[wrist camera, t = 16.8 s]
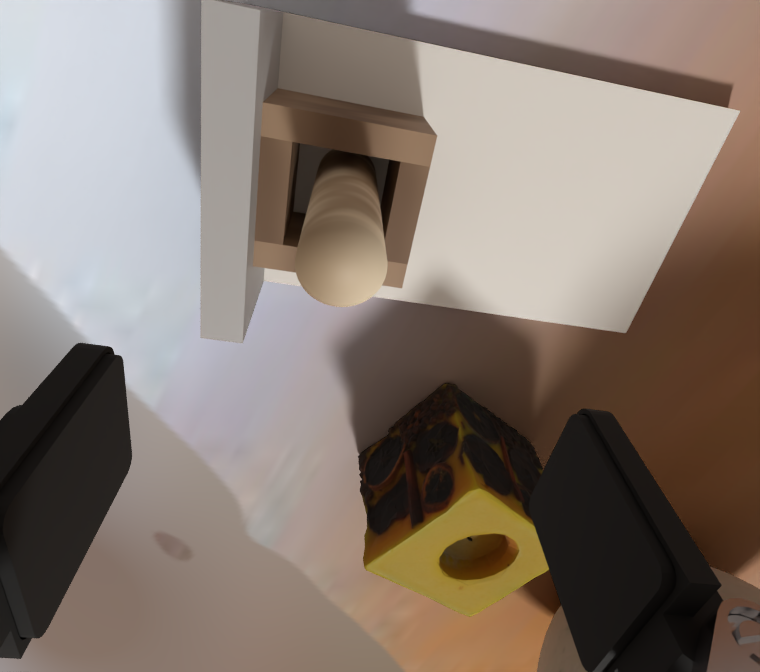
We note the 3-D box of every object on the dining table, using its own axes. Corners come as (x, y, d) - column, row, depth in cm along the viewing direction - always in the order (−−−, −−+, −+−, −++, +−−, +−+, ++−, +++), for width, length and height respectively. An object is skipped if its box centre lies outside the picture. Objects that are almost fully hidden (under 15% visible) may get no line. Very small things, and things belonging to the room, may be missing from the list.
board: (728, 108, 28) (849, 137, 21) (619, 325, 35) (683, 399, 28) (243, 3, 24) (201, -3, 17) (233, 269, 31) (200, 337, 25)
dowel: (380, 151, 27) (395, 229, 17) (370, 209, 29) (378, 312, 19) (321, 140, 27) (299, 214, 17) (314, 200, 28) (290, 300, 18)
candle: (355, 453, 40) (356, 569, 32) (446, 375, 37) (474, 482, 28) (444, 507, 44) (466, 623, 36) (535, 441, 41) (583, 553, 32)
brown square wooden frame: (423, 116, 26) (437, 135, 22) (395, 250, 30) (402, 288, 26) (277, 88, 25) (262, 102, 21) (267, 230, 29) (252, 266, 25)
